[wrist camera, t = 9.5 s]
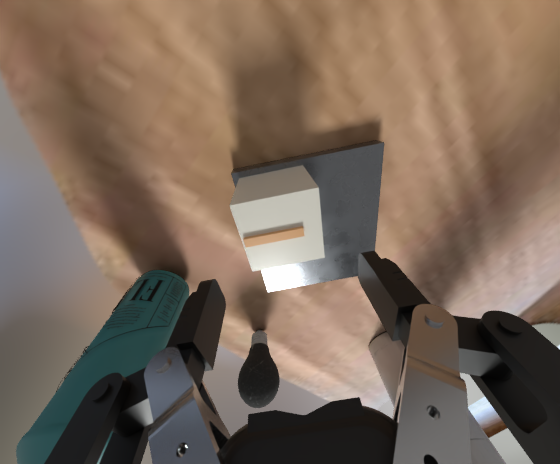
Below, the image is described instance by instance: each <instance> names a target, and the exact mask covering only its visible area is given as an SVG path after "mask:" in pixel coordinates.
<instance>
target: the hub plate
mask: <svg viewBox="0 0 560 464" xmlns="http://www.w3.org/2000/svg"><path fill="white" fill-rule="evenodd" d="M383 151H384V142H381V141H377V140H375V141H370V142H365V143H360V144H355V145H350V146H346V147H341V148H336V149H331V150H326V151H321V152H316V153H311V154H306V155H301V156H296V157H291V158H286V159H282V160H277V161H272V162H267V163H262V164H257V165H252V166H247V167H242V168H237V169H233V171H232V173H231V175H232V178H233V181H234V184H235V188H236V186H237V183H238V180H239V178H243V177H248V176H253V175H257V174H262V173H267V172H272V171H277V170H281V169H286V168H291V167H296V166H301V165H303V166H304V167H305V169H306V170H307V172H308V173H309V175H310V176H311V177H312V179H313V180H314V182H315V183H316V184H317V186H318V187H319V196H320V208H321V220H322V231H323V243H324V255H325V258H321V259H316V260H310V261H305V262H300V263H295V264H289V265H284V266H279V267H274V268H268V269H263V270H261V272H262V275H263V279H264V282H265V285H266V288H267V292H272V291H277V290H283V289H288V288H294V287H299V286H305V285H310V284H316V283H321V282H327V281H332V280H338V279H343V278H349V277H354V276H358V255H359V253H363V252H368V251H375V242H376V231H377V219H378V208H379V197H380V185H381V174H382V163H383Z"/></svg>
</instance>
